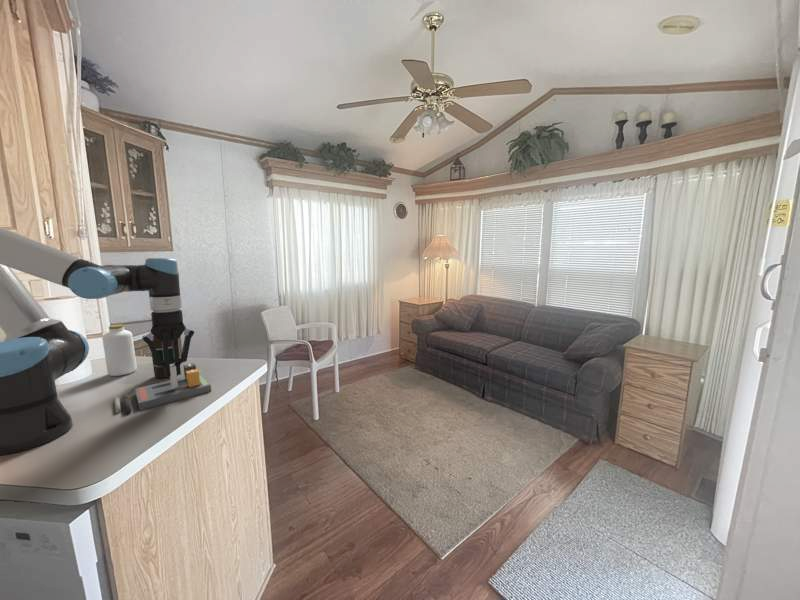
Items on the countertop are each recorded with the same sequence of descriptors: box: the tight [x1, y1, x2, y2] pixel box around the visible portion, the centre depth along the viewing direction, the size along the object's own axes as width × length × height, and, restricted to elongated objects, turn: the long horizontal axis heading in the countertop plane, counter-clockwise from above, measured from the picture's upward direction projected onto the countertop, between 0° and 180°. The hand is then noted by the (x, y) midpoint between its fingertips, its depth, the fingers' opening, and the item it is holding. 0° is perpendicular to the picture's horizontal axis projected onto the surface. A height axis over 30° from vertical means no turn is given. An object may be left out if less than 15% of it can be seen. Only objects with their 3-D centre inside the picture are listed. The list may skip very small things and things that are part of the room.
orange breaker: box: [186, 368, 200, 387], centre depth 103 cm, size 3×3×5 cm
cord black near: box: [122, 395, 132, 415], centre depth 94 cm, size 13×1×1 cm, turn 42°
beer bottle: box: [151, 335, 174, 380], centre depth 117 cm, size 8×8×24 cm
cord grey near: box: [113, 396, 122, 414], centre depth 94 cm, size 11×1×1 cm, turn 42°
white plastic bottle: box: [102, 324, 138, 377], centre depth 120 cm, size 8×8×18 cm
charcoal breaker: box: [183, 362, 197, 380], centre depth 109 cm, size 3×3×4 cm
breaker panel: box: [134, 373, 212, 411], centre depth 103 cm, size 18×14×2 cm
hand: (174, 385), depth 100 cm, fingers closed
